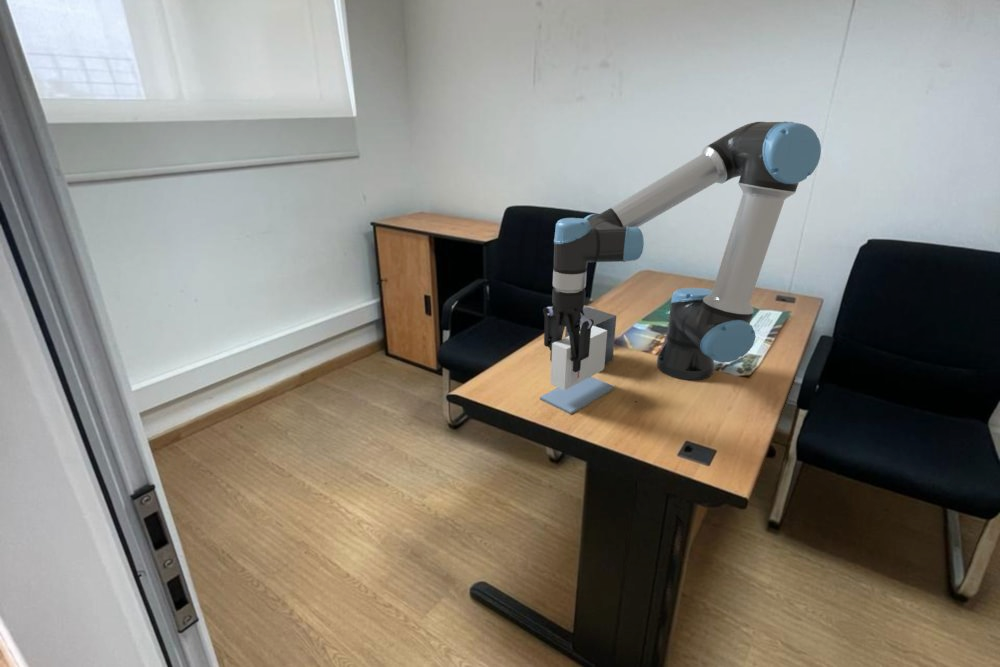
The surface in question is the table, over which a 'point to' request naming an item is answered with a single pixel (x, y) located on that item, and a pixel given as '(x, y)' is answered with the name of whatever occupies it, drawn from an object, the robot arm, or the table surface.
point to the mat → (577, 394)
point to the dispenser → (603, 322)
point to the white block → (588, 365)
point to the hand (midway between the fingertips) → (564, 378)
